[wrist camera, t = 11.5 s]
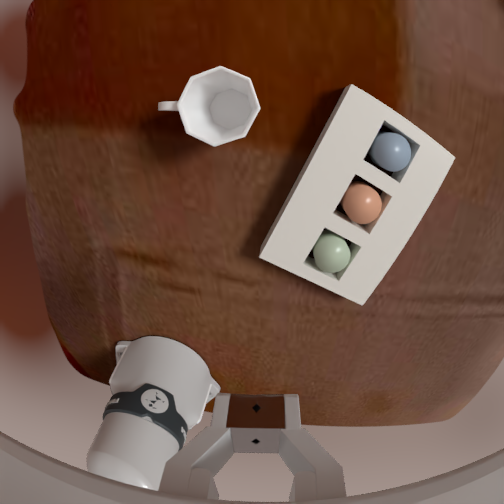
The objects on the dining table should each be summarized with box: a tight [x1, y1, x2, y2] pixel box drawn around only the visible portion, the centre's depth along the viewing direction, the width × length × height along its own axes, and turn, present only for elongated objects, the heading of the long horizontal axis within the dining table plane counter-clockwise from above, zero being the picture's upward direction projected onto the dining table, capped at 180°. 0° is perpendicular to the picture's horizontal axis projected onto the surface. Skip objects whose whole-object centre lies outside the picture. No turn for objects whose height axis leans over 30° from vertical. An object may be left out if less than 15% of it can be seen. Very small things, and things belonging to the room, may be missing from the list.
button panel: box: [259, 84, 455, 306], centre depth 31 cm, size 21×14×3 cm
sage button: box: [312, 230, 350, 273], centre depth 33 cm, size 4×4×3 cm
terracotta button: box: [340, 181, 382, 224], centre depth 31 cm, size 4×4×3 cm
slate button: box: [368, 132, 411, 172], centre depth 28 cm, size 4×4×3 cm
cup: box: [158, 66, 260, 147], centre depth 26 cm, size 7×10×8 cm
